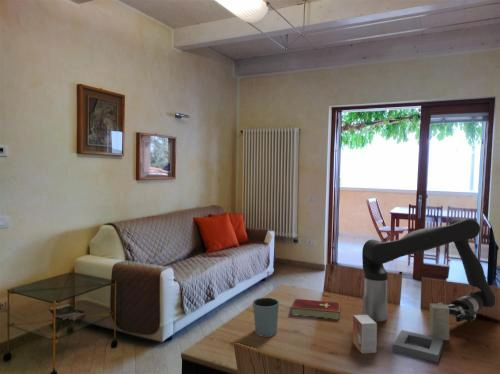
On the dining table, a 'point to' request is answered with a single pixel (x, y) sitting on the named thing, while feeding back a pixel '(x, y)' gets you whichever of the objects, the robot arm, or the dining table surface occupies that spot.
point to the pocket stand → (415, 351)
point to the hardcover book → (316, 308)
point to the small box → (364, 333)
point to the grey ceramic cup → (266, 316)
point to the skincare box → (439, 321)
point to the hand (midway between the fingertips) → (445, 315)
